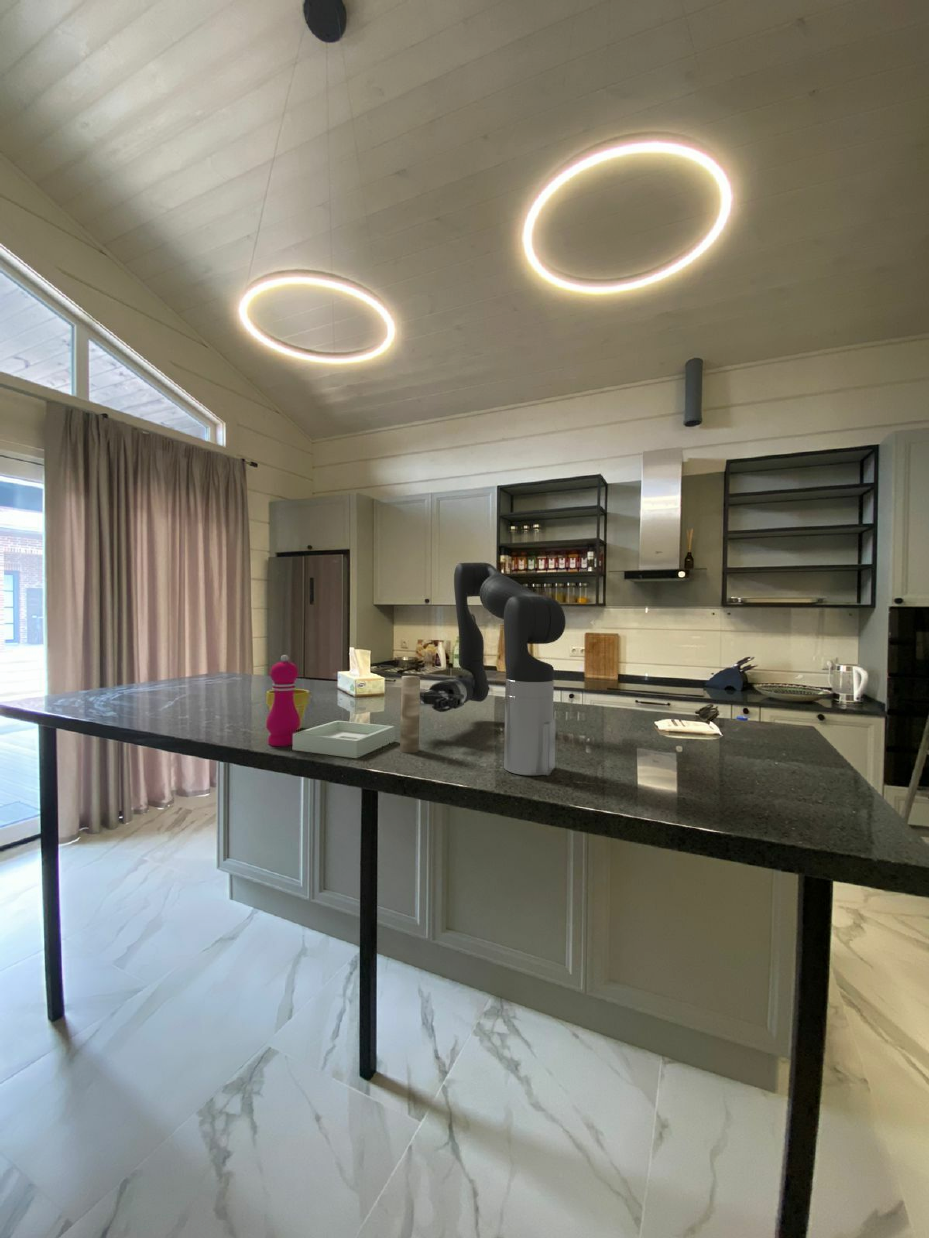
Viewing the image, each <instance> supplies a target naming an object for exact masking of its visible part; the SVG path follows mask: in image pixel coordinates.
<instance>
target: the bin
mask: <svg viewBox="0 0 929 1238" xmlns="http://www.w3.org/2000/svg"><path fill="white" fill-rule="evenodd" d="M395 731H396V727H395V726H394V725H385V724H377V723H375V724H374V723H367V722H366V723H365V722H357V721H356V722H355V721H346V720H345V721H344V720H334V721H331V722H327V723H324V724H320V725H318V726H317V725H316V726H313V727H311V728H307V729H303V730H299V731H296V732H295V733H293V745H292V751H297V752H298V751H299V752H306V753H315V754H322V755H328V756H329V755H330V756H337V757H343V758H350V759H352V758H353V759H358V758H360V757H362V756H365V755H367V754H368V753H371V752H374V751H376V750H379V749H380V748H383V747H385V746H387V745H389V743H390V744H392V743H394V742H395V741H396V740H395V739H396V738H395V735H396V733H395ZM382 746H383V747H382Z"/></svg>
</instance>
